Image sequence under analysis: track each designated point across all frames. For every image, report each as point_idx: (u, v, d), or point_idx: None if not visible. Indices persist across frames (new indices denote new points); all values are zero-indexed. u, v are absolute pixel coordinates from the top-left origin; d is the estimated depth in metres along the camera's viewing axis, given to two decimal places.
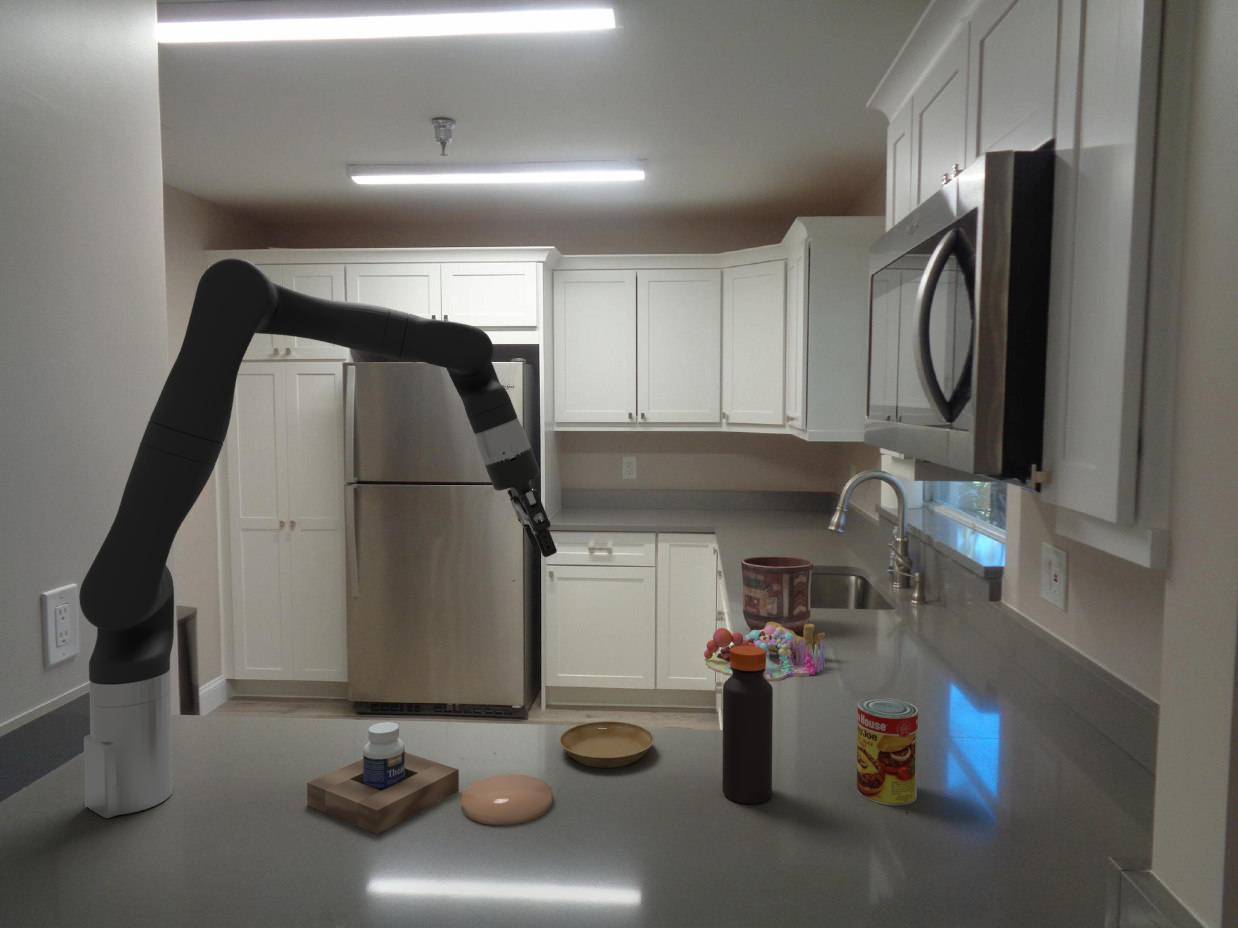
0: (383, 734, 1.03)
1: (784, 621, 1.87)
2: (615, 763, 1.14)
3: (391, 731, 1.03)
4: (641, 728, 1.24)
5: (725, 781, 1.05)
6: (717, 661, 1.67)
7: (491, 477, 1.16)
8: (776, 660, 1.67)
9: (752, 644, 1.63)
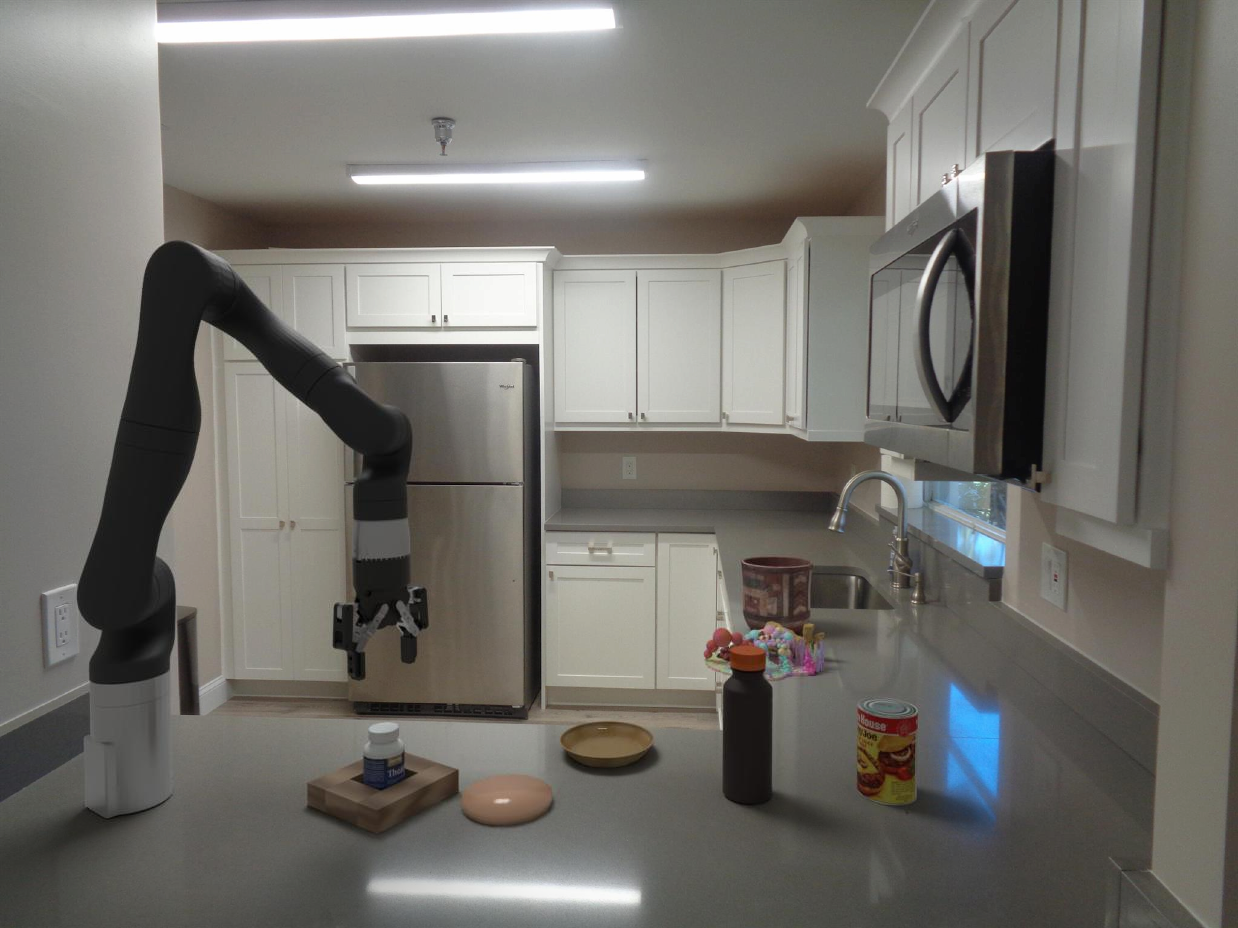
0: (383, 734, 1.03)
1: (784, 621, 1.87)
2: (615, 763, 1.14)
3: (391, 731, 1.03)
4: (641, 728, 1.24)
5: (725, 781, 1.05)
6: (717, 661, 1.67)
7: None
8: (776, 660, 1.67)
9: (752, 644, 1.64)
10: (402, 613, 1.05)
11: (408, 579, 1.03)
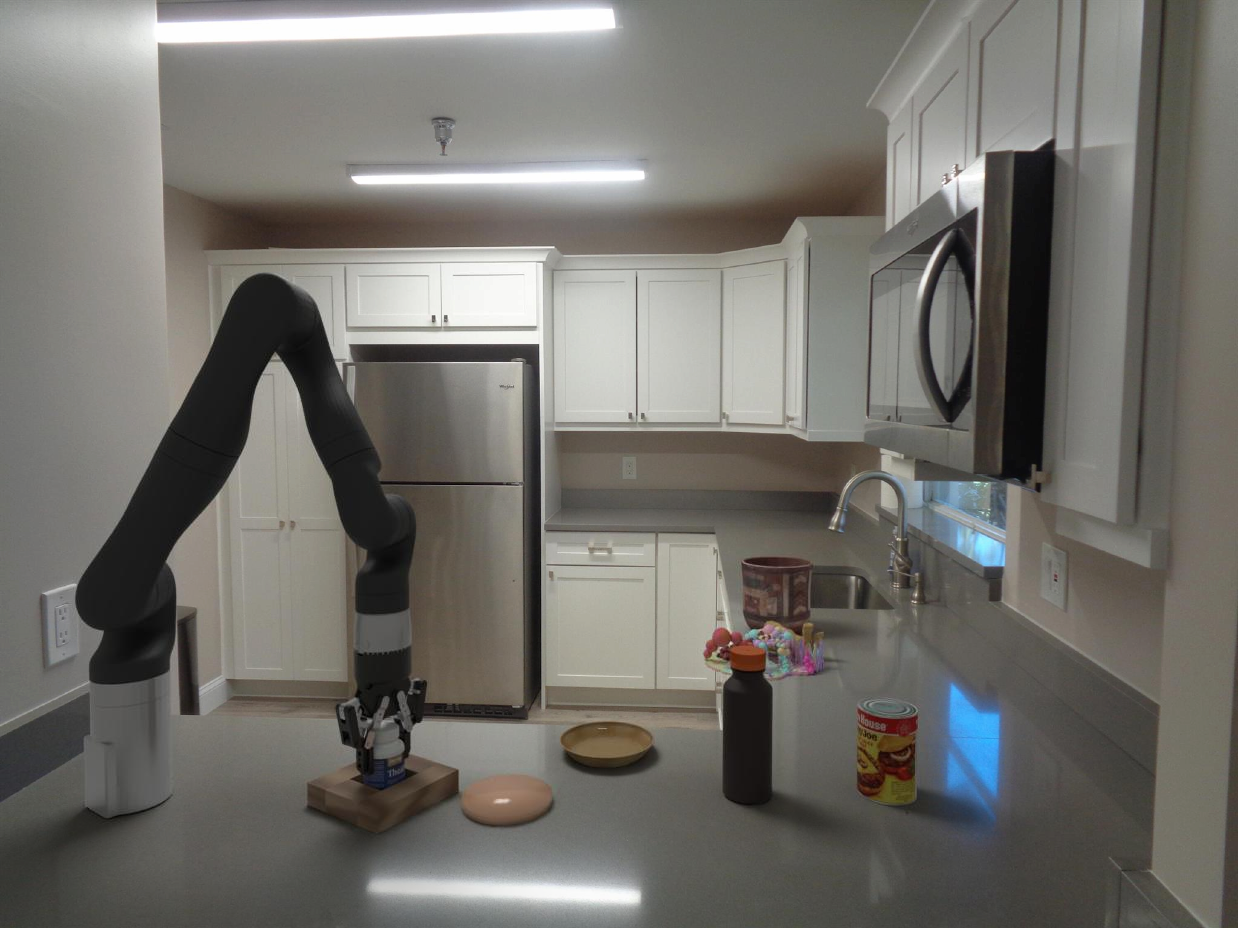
0: (383, 734, 1.03)
1: (784, 621, 1.87)
2: (615, 763, 1.14)
3: (391, 731, 1.03)
4: (641, 728, 1.24)
5: (725, 781, 1.05)
6: (716, 660, 1.67)
7: None
8: (775, 659, 1.67)
9: (751, 643, 1.64)
10: (401, 704, 1.05)
11: (409, 670, 1.04)
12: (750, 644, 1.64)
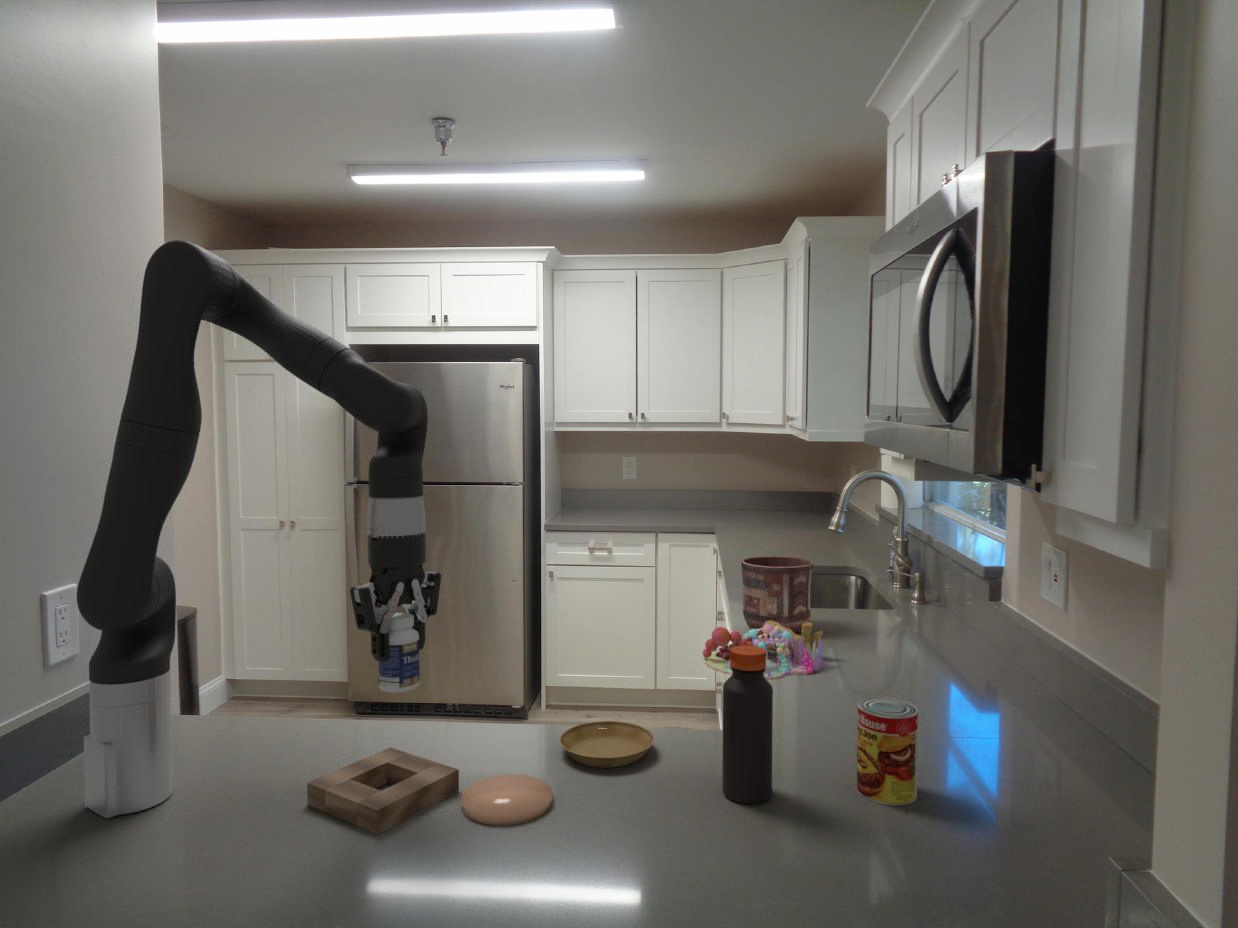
0: (398, 621, 1.02)
1: (784, 621, 1.87)
2: (615, 763, 1.14)
3: (405, 618, 1.03)
4: (641, 728, 1.24)
5: (725, 781, 1.05)
6: (716, 660, 1.68)
7: None
8: (774, 659, 1.68)
9: (750, 643, 1.65)
10: (415, 593, 1.04)
11: (423, 557, 1.03)
12: (749, 643, 1.64)
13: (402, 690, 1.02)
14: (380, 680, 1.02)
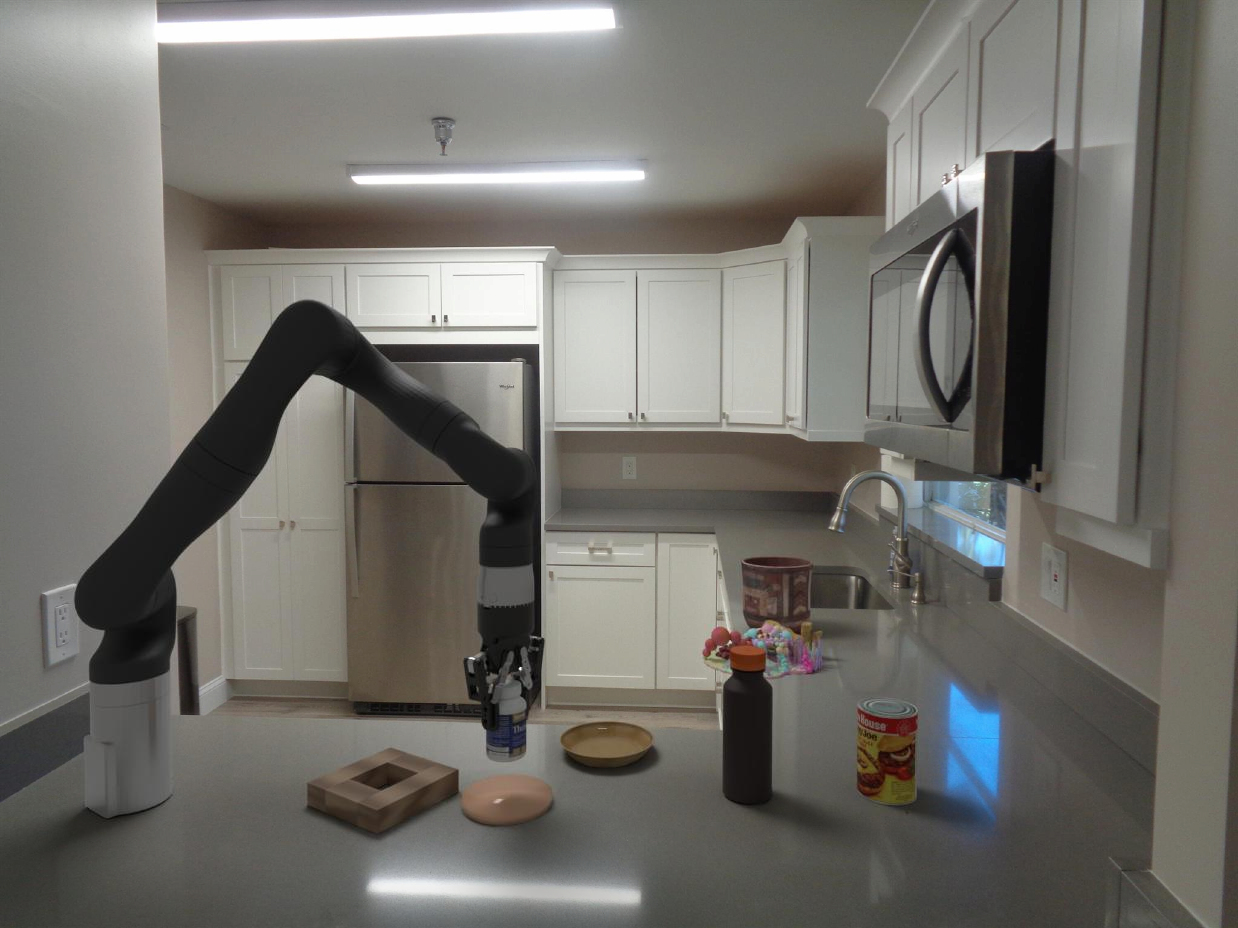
0: (508, 690, 1.01)
1: (784, 621, 1.87)
2: (615, 763, 1.14)
3: (515, 687, 1.02)
4: (641, 728, 1.24)
5: (725, 781, 1.05)
6: (715, 659, 1.68)
7: None
8: (774, 658, 1.68)
9: (750, 642, 1.65)
10: (523, 661, 1.03)
11: (533, 625, 1.02)
12: (749, 643, 1.65)
13: (511, 760, 1.01)
14: (489, 749, 1.01)
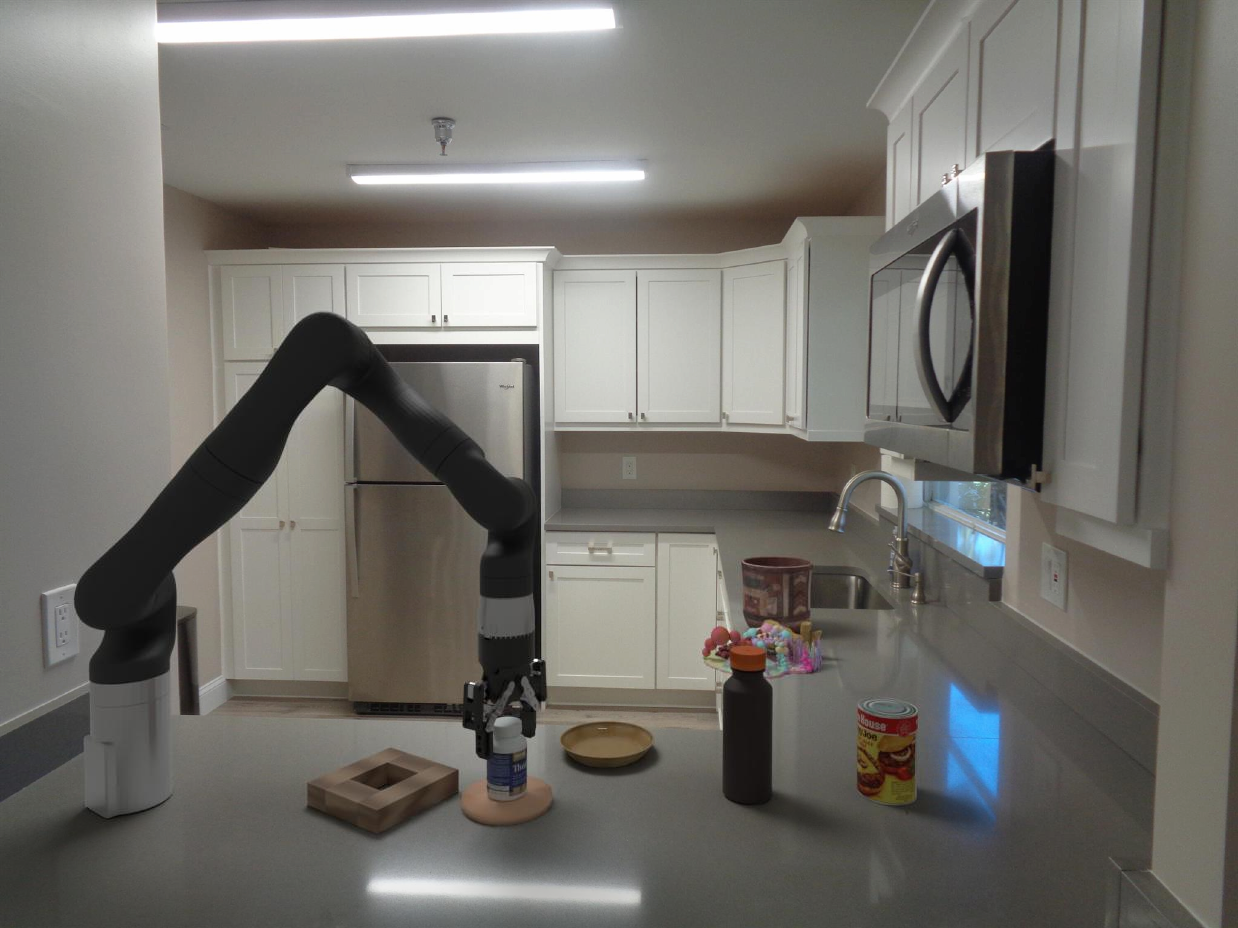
0: (508, 729, 1.01)
1: (784, 621, 1.87)
2: (615, 763, 1.14)
3: (515, 725, 1.02)
4: (641, 728, 1.24)
5: (725, 781, 1.05)
6: (715, 659, 1.68)
7: None
8: (773, 658, 1.68)
9: (749, 642, 1.65)
10: (525, 688, 1.04)
11: (533, 655, 1.02)
12: (748, 642, 1.65)
13: (512, 799, 1.01)
14: (489, 788, 1.02)
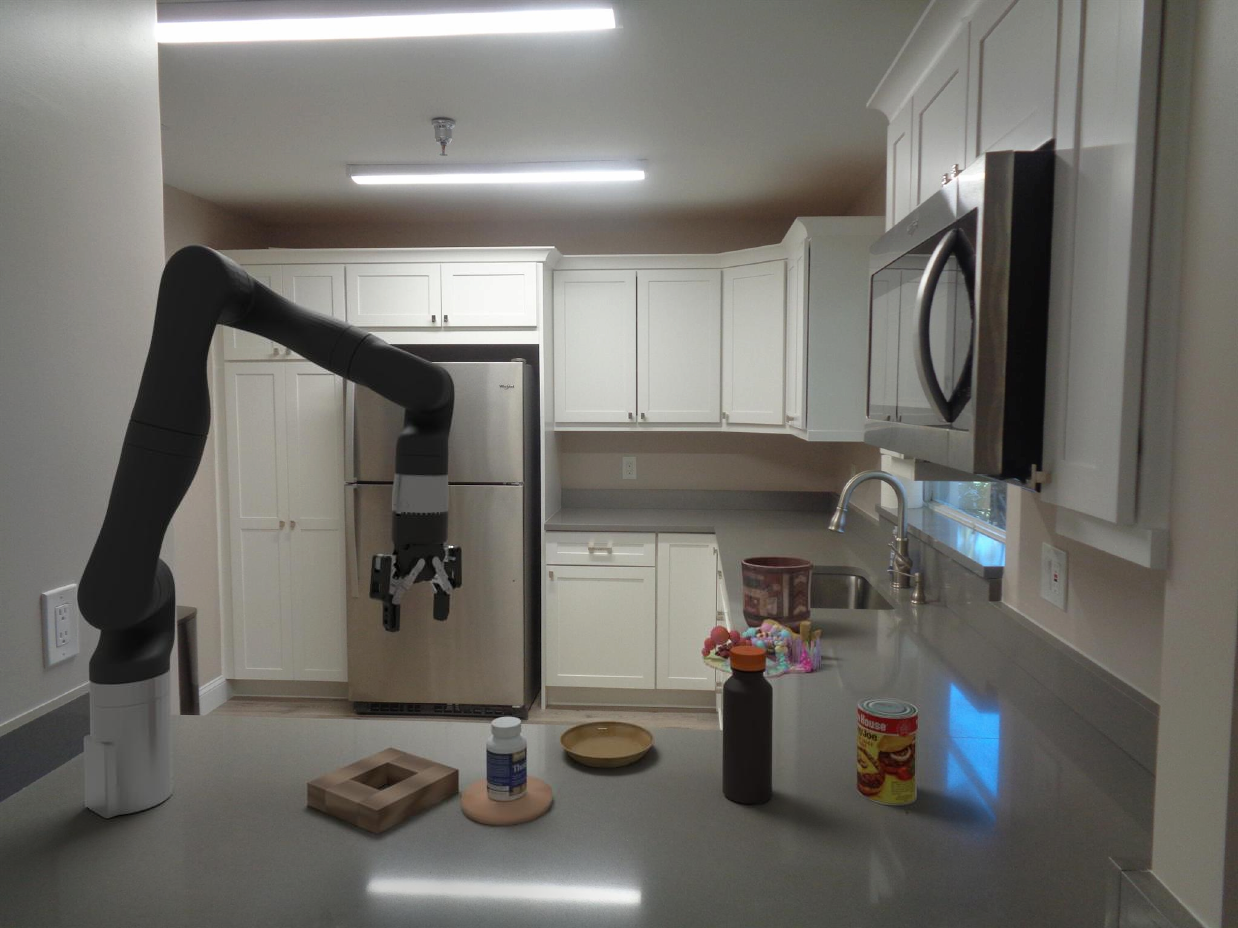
0: (508, 729, 1.01)
1: (784, 621, 1.87)
2: (615, 763, 1.14)
3: (515, 725, 1.02)
4: (641, 728, 1.24)
5: (725, 781, 1.05)
6: (715, 658, 1.69)
7: None
8: (773, 657, 1.69)
9: (749, 642, 1.66)
10: (437, 569, 1.06)
11: (445, 536, 1.05)
12: (748, 642, 1.65)
13: (512, 799, 1.01)
14: (489, 788, 1.02)
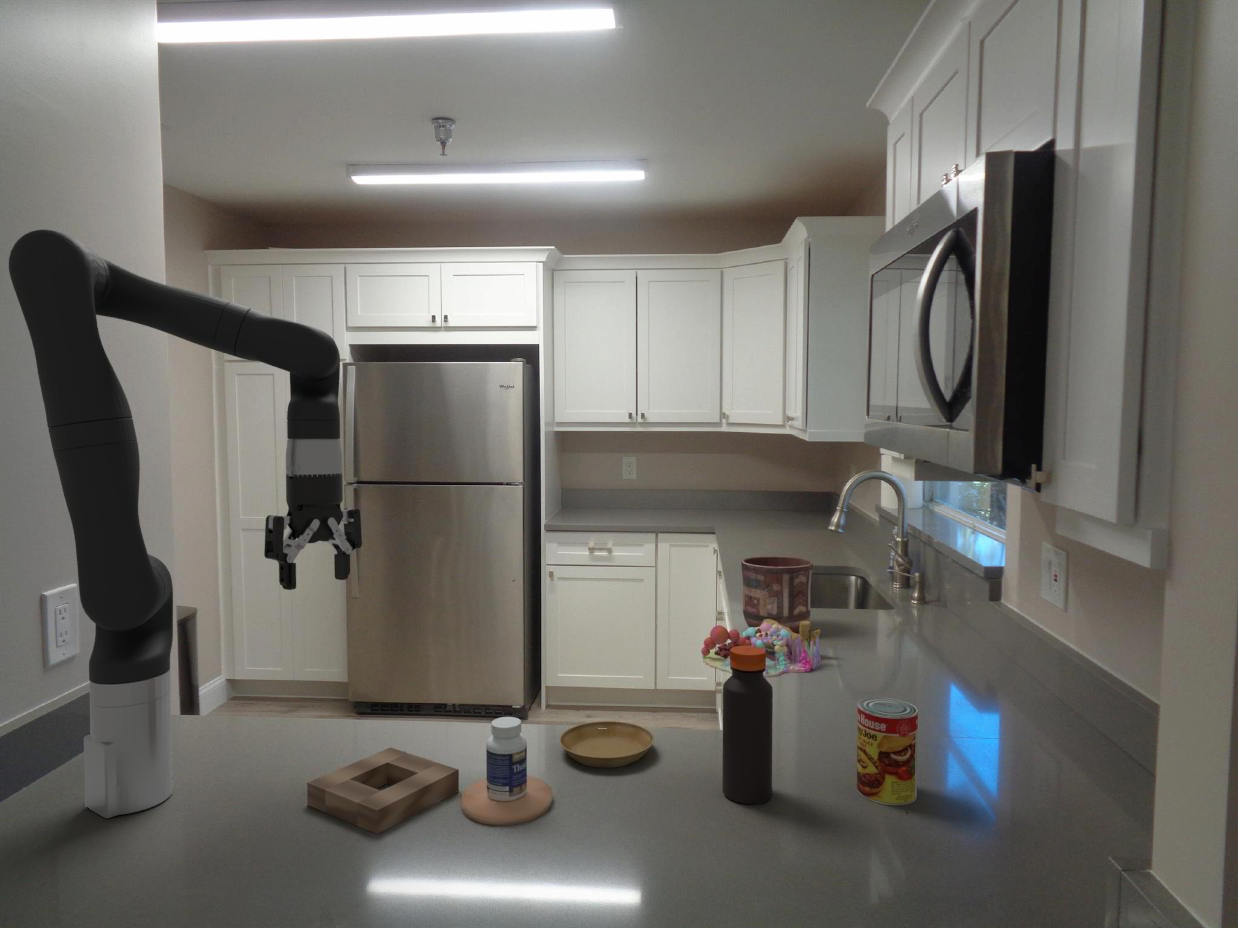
0: (508, 729, 1.01)
1: (784, 621, 1.87)
2: (615, 763, 1.14)
3: (515, 726, 1.02)
4: (641, 728, 1.24)
5: (725, 781, 1.05)
6: (714, 658, 1.69)
7: None
8: (772, 657, 1.69)
9: (748, 641, 1.66)
10: (334, 530, 1.11)
11: (339, 497, 1.09)
12: (747, 642, 1.66)
13: (511, 799, 1.01)
14: (489, 788, 1.02)
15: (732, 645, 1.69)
